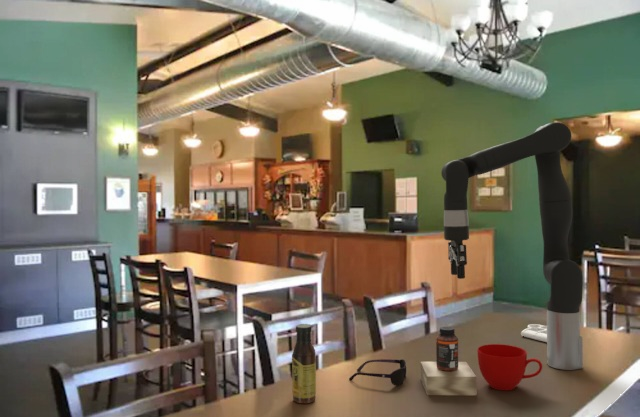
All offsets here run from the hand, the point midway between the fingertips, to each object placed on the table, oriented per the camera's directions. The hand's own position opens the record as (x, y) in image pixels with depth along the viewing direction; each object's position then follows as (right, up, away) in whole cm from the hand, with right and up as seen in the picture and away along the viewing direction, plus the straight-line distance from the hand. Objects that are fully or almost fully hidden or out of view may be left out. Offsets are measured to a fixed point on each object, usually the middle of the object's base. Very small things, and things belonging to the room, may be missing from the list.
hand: (457, 276), depth 163 cm
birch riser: (-7, -28, -18) cm, 34 cm away
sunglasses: (-26, -29, -10) cm, 40 cm away
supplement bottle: (-7, -24, -17) cm, 30 cm away
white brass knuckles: (+42, -28, +33) cm, 60 cm away
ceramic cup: (+9, -28, -19) cm, 35 cm away
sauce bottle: (-47, -29, -26) cm, 61 cm away
